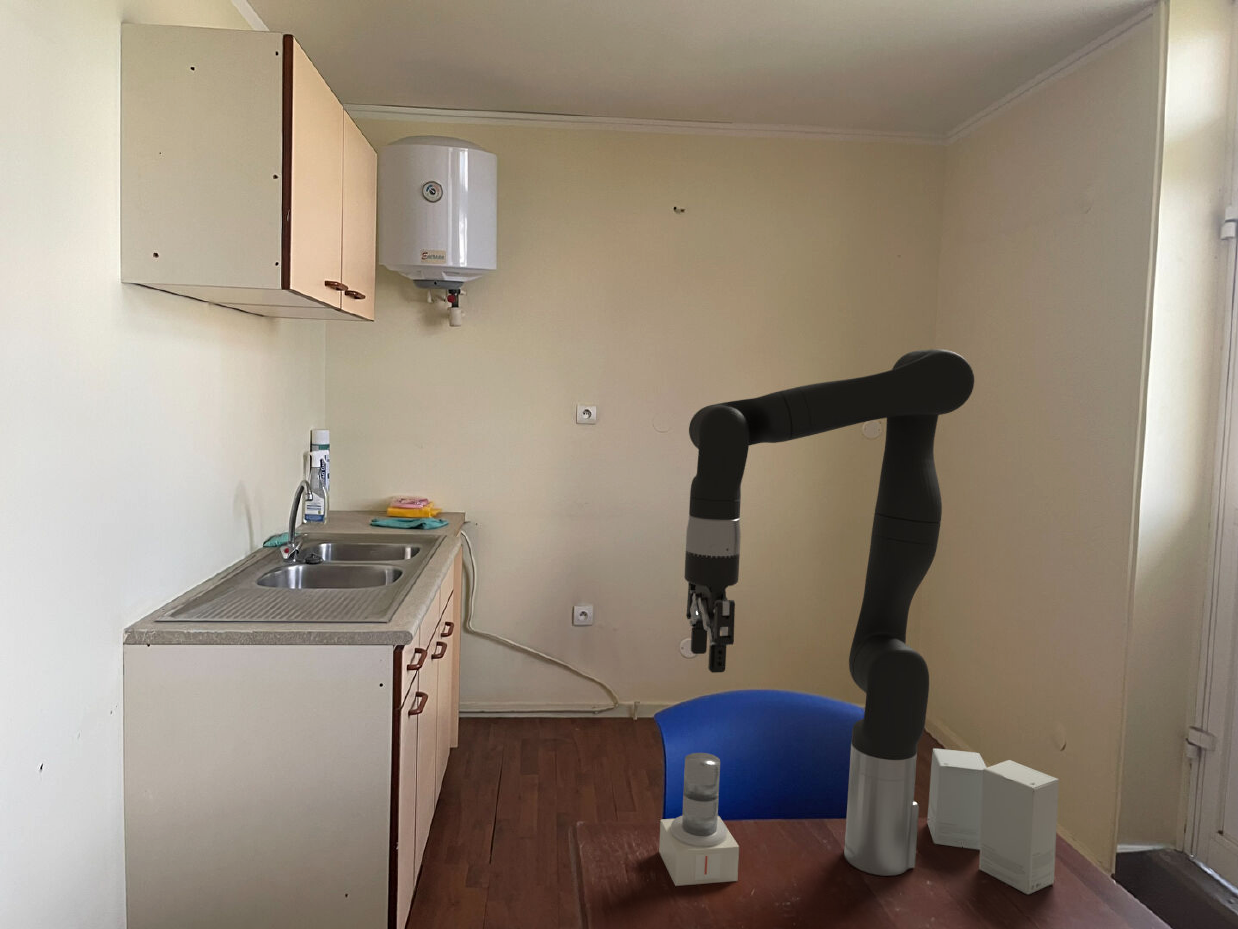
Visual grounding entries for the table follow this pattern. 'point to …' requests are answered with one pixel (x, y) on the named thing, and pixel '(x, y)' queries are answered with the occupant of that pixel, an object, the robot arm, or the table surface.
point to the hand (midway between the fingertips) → (707, 662)
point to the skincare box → (1019, 826)
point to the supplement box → (956, 798)
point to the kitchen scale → (698, 854)
